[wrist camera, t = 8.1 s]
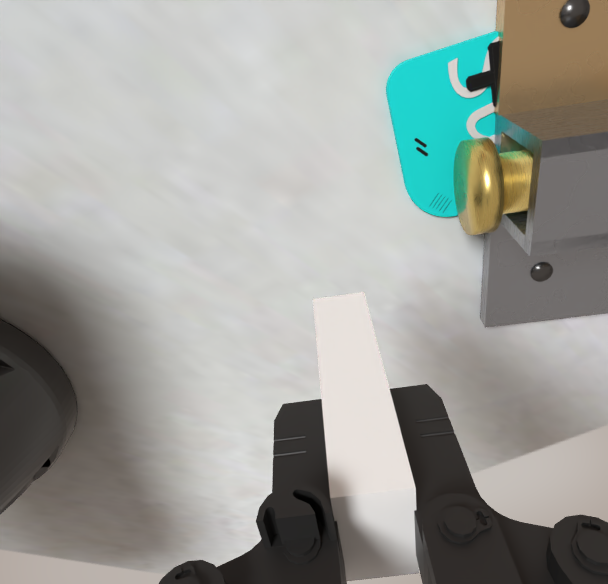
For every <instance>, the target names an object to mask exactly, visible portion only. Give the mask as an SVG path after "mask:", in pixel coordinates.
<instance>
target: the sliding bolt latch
mask: <svg viewBox="0 0 608 584" xmlns="http://www.w3.org/2000/svg"><path fill="white" fill-rule="evenodd" d="M496 31H497V32H498V37H499V44H500V47H499V63H498V80H497V97H496V107H495V109H494V113H495V114H496V117H495V133H494V134H495V143H494V144H495V146H496V148H497V151H498V153H505V152H512V151H519V150H526V149H528V150H529V151H531V152H532V153H534V155H533V164H532V174H531V184H530V194H529V204H528V211H521V212H514V213H506V214H503V215H502V219H501V222H500V225H499V227H498V228H497V230H496V231H495V232H492V233H485V236H484V255H483V273H482V292H481V310H480V319H481V321H482V323H483V324H484V326H485V327H493V326H501V325H510V324H518V323H527V322H536V321H544V320H553V319H561V318H570V317H578V316H587V315H596V314H604V313H608V0H497V15H496Z"/></svg>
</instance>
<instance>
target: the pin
mask: <svg viewBox="0 0 608 584" xmlns="http://www.w3.org/2000/svg"><path fill="white" fill-rule="evenodd" d="M533 155H534V153H532V152H531V151H529V150H528V149H526V150H519V151H512V152H505V153H498V151H497V148H496V146H495V144H494V143H493V141H492V140H491V139H490V138H488V137H483V138H476V139H469V140H463V141H461V142H460V143H459V145H458V147H457V150H456V154H455V160H454V195H455V202H456V208H457V213H458V216H459V220H460V223H461V225H462V227H463V229H464V231H465V232H466V233H467V234H468V235H476V234H484V233H492V232H495V231H496V230H497V228H498V227H499V225H500V222H501V219H502V215H503V214H506V213H514V212H521V211H528V204H529V194H530V184H531V174H532V164H533Z"/></svg>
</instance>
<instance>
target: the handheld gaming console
mask: <svg viewBox="0 0 608 584" xmlns="http://www.w3.org/2000/svg"><path fill="white" fill-rule="evenodd" d="M499 47H500V44H499V37H498V32H497V31H494V32H491V33H488V34H485V35H482V36H479V37H476V38H473V39H470V40H467V41H464V42H461V43H458V44H455V45H451V46H448V47H445V48H442V49H439V50H436V51H433V52H430V53H427V54H424V55H421V56H418V57H415V58H412V59H409V60H406V61H404V62H402V63H400V64H399V65H398V66H396V67H395V69H394V70H393V71H392V72H391V74H390V76H389V78H388V81H387V86H386V94H387V100H388V104H389V109H390V114H391V119H392V124H393V129H394V134H395V139H396V144H397V149H398V154H399V158H400V163H401V168H402V173H403V178H404V183H405V187H406V190H407V192H408V194H409V196H410V197H411V199H412V201H413V202H414V203H415V204H416V205H417V206H418V207H419V208H420V209H422V210H423V211H425V212H427V213H429V214H432V215H435V216H441V217H451V216H457V215H458V213H457V208H456V202H455V195H454V160H455V154H456V150H457V147H458V145H459V143H460V142H461V141H463V140H469V139H476V138H483V137H488V138H490V139H491V140H492V141H493V143H495V134H494V133H495V117H496V114H495V113H494V109H495V107H496V97H497V80H498V63H499Z"/></svg>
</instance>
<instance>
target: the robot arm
mask: <svg viewBox="0 0 608 584" xmlns="http://www.w3.org/2000/svg"><path fill="white" fill-rule="evenodd" d="M313 309H314V320H315V331H316V343H317V354H318V365H319V376H320V388H321V399H318V400H311V401H303V402H295V403H287V404H283V405H282V407H281V409H280V411H279V413H278V415H277V417H276V419H275V420H274V450H273V455H274V458H273V487H272V493H271V494H270V495H269V496H268V497H267V498H266V499H265V501H264V502H263V503H262V505H261V506H260V508H259V512H258V515H257V519H256V523H257V526H258V529H259V532H260V535H261V538H262V539H261V541H260V542H259V543H258V544H257V545H256V546H255V547H254V548H253V549H252V550H250V551H248V552H247V553H245V554H243V555H242V556H240V557H238V558H235V559H233V560H231V561H229V562H227V563H225V564H223V565H220V566H218V567H215V565H213V564H211V563H208V562H206V561H203V560H197V561H187V562H185V563H183V564H181V565H179V566H177V567H174V568H173V569H172V570H171V571H170V572H169V573H168V574H166V575H165V576H164V577H163V578H162V579H161V581H160V582H159V584H347V582H346V581H352V580H362V579H371V578H380V577H389V576H398V575H406V574H416V573H419V570H420V574H421V578H422V583H423V584H608V523H607V522H605V521H603V520H601V519H599V518H596V517H591V516H585V515H576V516H569V517H565V518H564V519H562V520H561V521H560V522H558V523H556V524H555V526H554V528H549V527H544V526H538V525H533V524H528V523H523V522H519V521H515V520H512V519H509V518H507V517H505V516H503V515H501V514H499V513H497V512H496V511H494V509H492V508H491V507H490V506H488V505H487V503H486V502H485V501H484V500H483V499H482V498H481V497H480V495H479V493H478V491H477V489H476V487H475V484H474V482H473V479H472V476H471V474H470V471H469V469H468V466H467V463H466V461H465V458H464V456H463V453H462V451H461V448H460V445H459V443H458V440H457V438H456V435H455V434H454V430H453V427H452V425H451V422H450V419H449V418H448V414H447V412H446V409H445V406H444V404H443V401H442V399H441V397H439V396H438V395H437V394H436V393H435V392H434V391H433V390H432V389H431V388H430V387H429V386H428V385H427V384H425V385H417V386H409V387H402V388H394V389H389V385H388V381H387V377H386V373H385V370H384V366H383V362H382V358H381V355H380V351H379V347H378V343H377V339H376V336H375V332H374V328H373V324H372V320H371V317H370V313H369V309H368V305H367V301H366V298H365V294H364V292H359V293H351V294H344V295H337V296H330V297H323V298H315V299H313ZM76 418H77V403H76V398H75V394H74V391H73V389H72V386H71V384H70V382H69V380H68V378H67V376H66V375H65V373H64V372H63V370H62V369H61V367H60V366H59V365H58V363H57V362H56V361H55V360H54V359H53V358H52V356H51V355H50V354H49V353H48V352H47V351H46V350H45V349H43V348H42V347H41V346H40V345H39V344H38V343H36V342H35V341H34V340H33V339H31V338H30V337H29V336H27V335H26V334H24V333H23V332H21V331H20V330H18V329H17V328H15V327H13V326H11V325H10V324H8V323H6V322H4V321H2V320H0V514H1V513H3V512H4V511H5V510H6V509H7V508H8V507H9V506H10V505H11V504H12V503H13V502H14V501H15V500H16V499H17V498H18V497H19V496H20V495H21V494H22V493H23V492H24V491H25V490H26V489H27V488H28V487H29V486H30V485H31V483H32V482H33V481H34V480H36V479H38V478H39V477H40V476H42V475H43V474H44V473H45V472H46V471H47V470H48V469H49V468H50V467H51V466H52V465H53V464H54V463H55V461H56V460H57V459H58V457H59V456H60V454H61V452H62V450H63V449H64V447H65V445H66V443H67V441H68V439H69V437H70V435H71V433H72V431H73V429H74V427H75V423H76Z"/></svg>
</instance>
